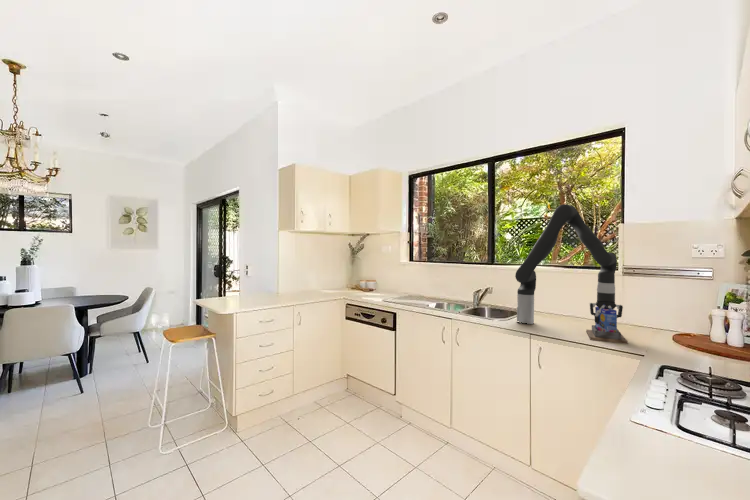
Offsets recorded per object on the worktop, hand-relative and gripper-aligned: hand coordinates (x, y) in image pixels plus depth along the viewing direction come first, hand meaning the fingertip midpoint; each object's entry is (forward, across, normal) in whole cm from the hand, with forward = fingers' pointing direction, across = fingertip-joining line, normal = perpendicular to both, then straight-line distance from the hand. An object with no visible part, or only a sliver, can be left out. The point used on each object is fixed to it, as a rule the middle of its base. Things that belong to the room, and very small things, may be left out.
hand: (605, 324), depth 170 cm
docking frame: (+7, 0, 0) cm, 7 cm away
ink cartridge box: (+4, 0, 0) cm, 4 cm away
